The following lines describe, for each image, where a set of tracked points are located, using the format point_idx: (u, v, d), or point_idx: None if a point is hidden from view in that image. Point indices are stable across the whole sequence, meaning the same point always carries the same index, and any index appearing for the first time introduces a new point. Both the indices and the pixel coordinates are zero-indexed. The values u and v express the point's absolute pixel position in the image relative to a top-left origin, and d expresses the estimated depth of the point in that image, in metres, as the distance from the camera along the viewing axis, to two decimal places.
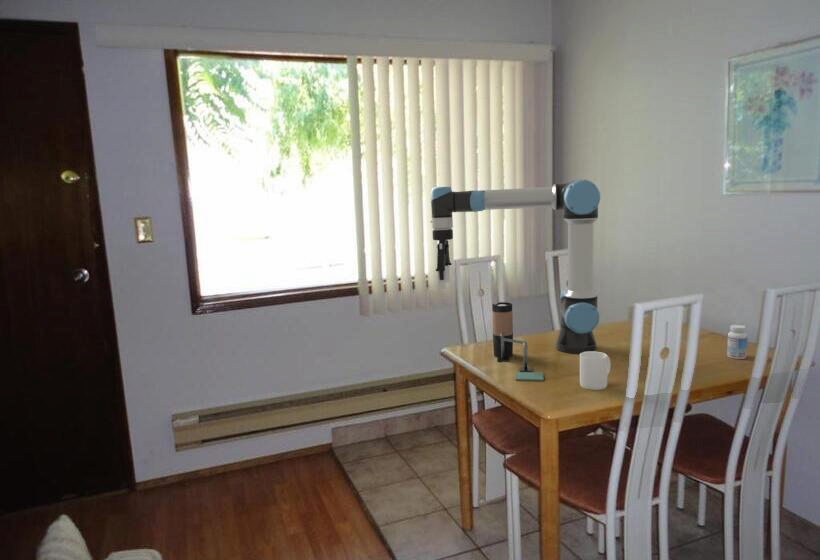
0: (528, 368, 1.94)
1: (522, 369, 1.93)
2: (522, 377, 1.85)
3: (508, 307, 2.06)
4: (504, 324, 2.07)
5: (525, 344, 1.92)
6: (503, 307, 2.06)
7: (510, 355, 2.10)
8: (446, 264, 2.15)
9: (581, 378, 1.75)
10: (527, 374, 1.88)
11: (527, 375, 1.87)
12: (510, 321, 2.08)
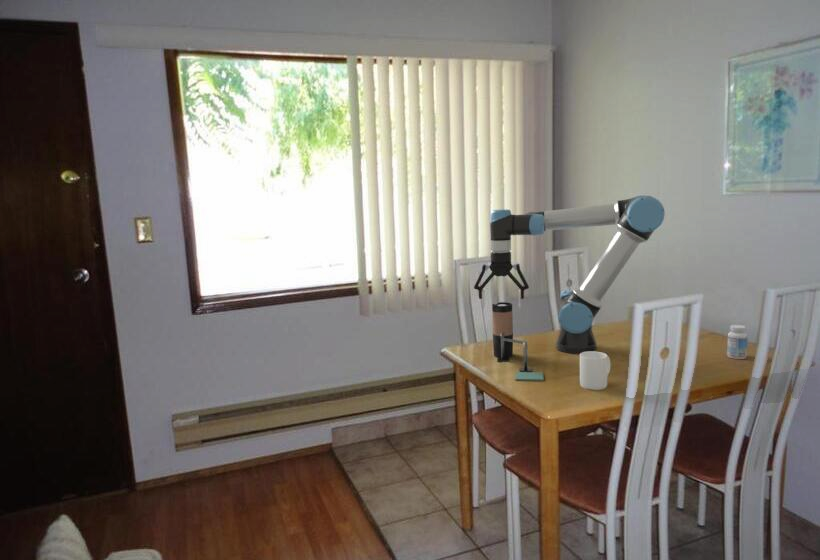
0: (528, 368, 1.94)
1: (522, 369, 1.93)
2: (522, 377, 1.85)
3: (508, 307, 2.06)
4: (504, 324, 2.07)
5: (525, 344, 1.92)
6: (503, 307, 2.06)
7: (510, 355, 2.10)
8: None
9: (581, 378, 1.75)
10: (527, 374, 1.88)
11: (527, 375, 1.87)
12: (510, 321, 2.08)
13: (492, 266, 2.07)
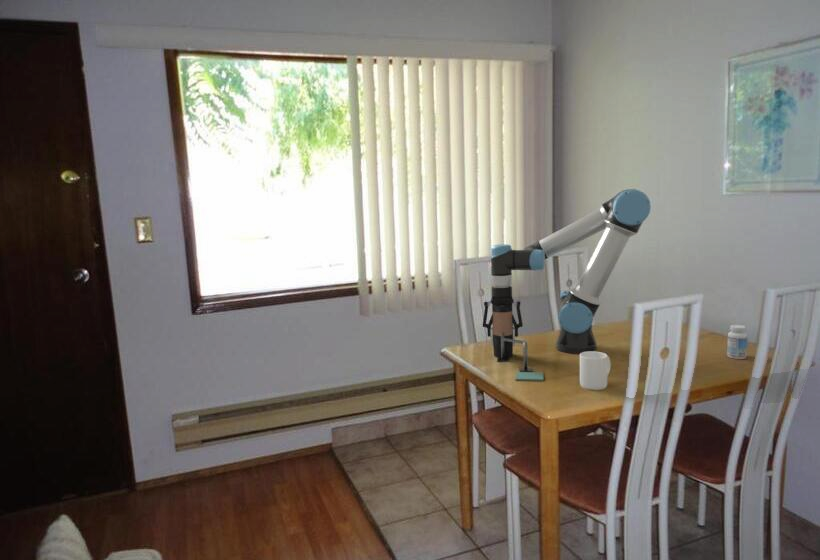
0: (528, 368, 1.94)
1: (522, 369, 1.93)
2: (522, 377, 1.85)
3: (508, 307, 2.06)
4: (504, 324, 2.07)
5: (525, 344, 1.92)
6: (503, 307, 2.06)
7: (510, 355, 2.10)
8: (514, 327, 2.10)
9: (581, 378, 1.75)
10: (527, 374, 1.88)
11: (527, 375, 1.87)
12: (510, 321, 2.08)
13: (493, 300, 2.09)
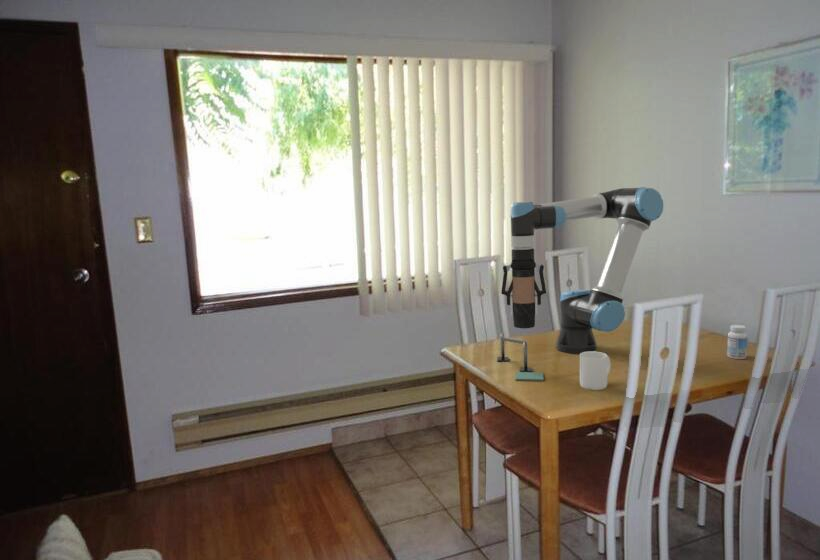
0: (528, 368, 1.94)
1: (522, 369, 1.93)
2: (522, 377, 1.85)
3: (530, 271, 1.85)
4: (525, 291, 1.86)
5: (525, 344, 1.92)
6: (524, 271, 1.85)
7: (532, 325, 1.89)
8: (537, 294, 1.89)
9: (581, 378, 1.75)
10: (527, 374, 1.88)
11: (527, 375, 1.87)
12: (532, 287, 1.87)
13: (513, 264, 1.88)
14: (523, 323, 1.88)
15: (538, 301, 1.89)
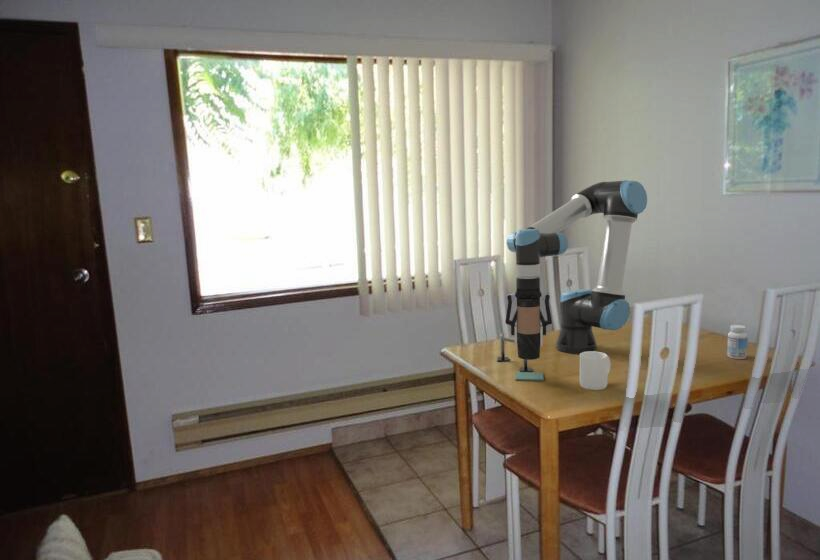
0: (528, 368, 1.94)
1: (522, 369, 1.93)
2: (522, 377, 1.85)
3: (535, 301, 1.79)
4: (530, 321, 1.80)
5: None
6: (530, 301, 1.79)
7: (537, 356, 1.83)
8: (542, 324, 1.83)
9: (581, 378, 1.75)
10: (527, 374, 1.88)
11: (527, 375, 1.87)
12: (537, 317, 1.81)
13: (518, 294, 1.82)
14: (528, 355, 1.82)
15: (543, 331, 1.83)
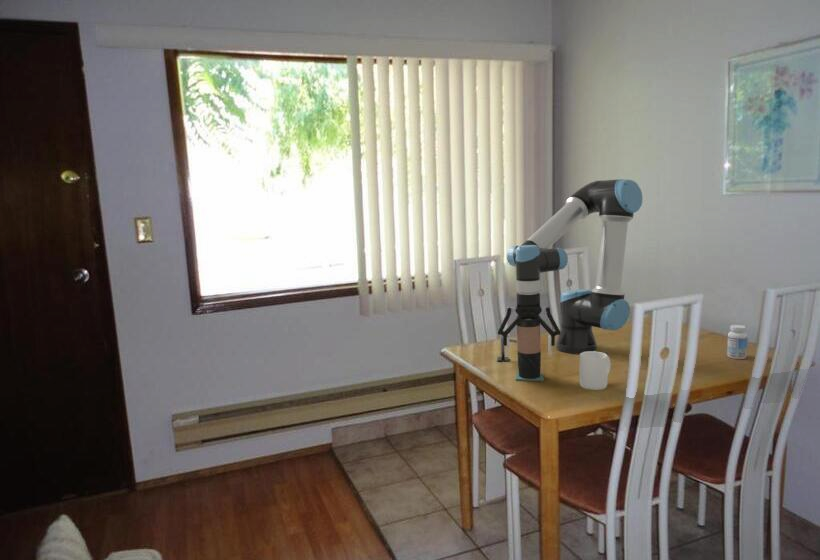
0: None
1: None
2: None
3: (535, 321, 1.80)
4: (531, 341, 1.81)
5: None
6: (530, 321, 1.80)
7: (538, 375, 1.84)
8: (550, 334, 1.83)
9: (581, 378, 1.75)
10: None
11: None
12: (538, 337, 1.82)
13: (518, 309, 1.83)
14: (529, 374, 1.83)
15: (552, 342, 1.83)
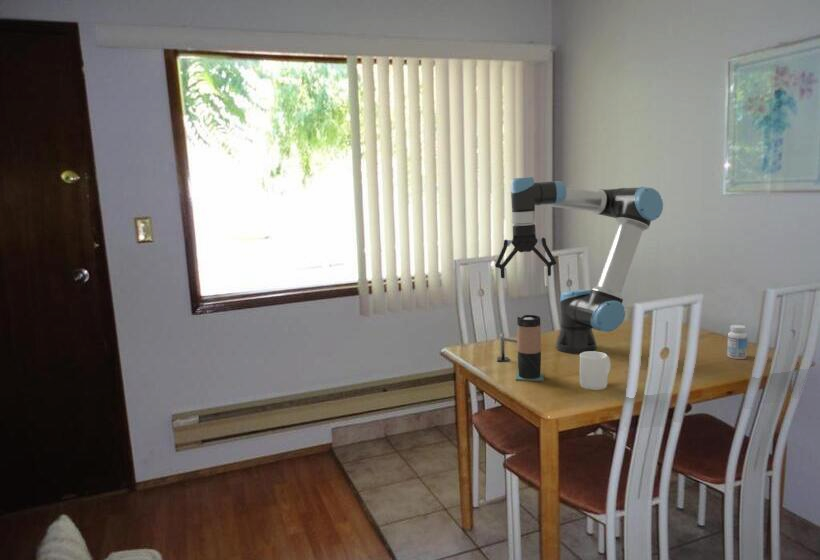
0: None
1: None
2: None
3: (536, 321, 1.80)
4: (531, 341, 1.81)
5: None
6: (530, 321, 1.80)
7: (538, 375, 1.84)
8: (547, 265, 1.87)
9: (581, 378, 1.75)
10: None
11: None
12: (538, 337, 1.82)
13: (515, 241, 1.86)
14: (529, 374, 1.83)
15: (548, 272, 1.87)
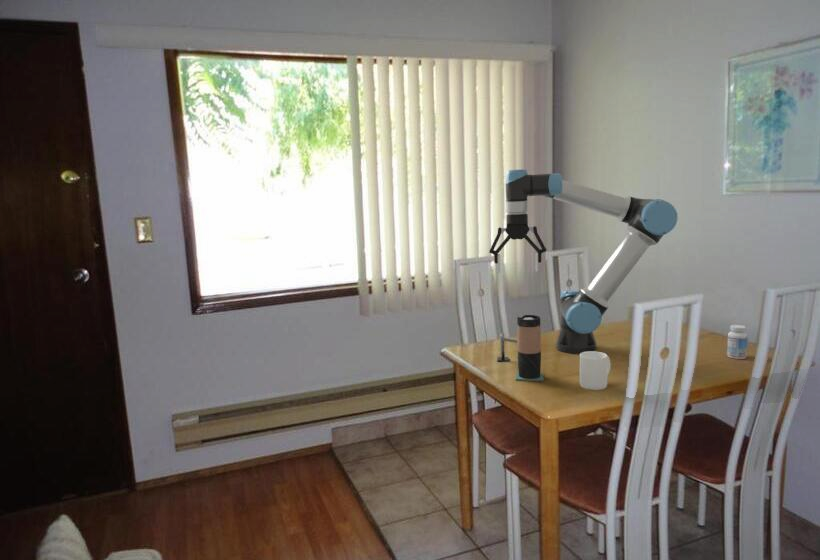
0: None
1: None
2: None
3: (536, 321, 1.80)
4: (531, 341, 1.81)
5: None
6: (530, 321, 1.80)
7: (538, 375, 1.84)
8: None
9: (581, 378, 1.75)
10: None
11: None
12: (538, 337, 1.82)
13: (508, 229, 2.00)
14: (529, 374, 1.83)
15: (539, 259, 2.00)
